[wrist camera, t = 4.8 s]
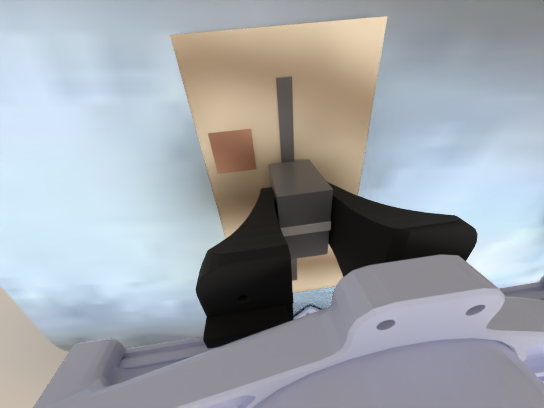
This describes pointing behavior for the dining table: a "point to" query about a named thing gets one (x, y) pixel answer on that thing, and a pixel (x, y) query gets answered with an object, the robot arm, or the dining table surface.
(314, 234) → the fader knob
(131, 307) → the dining table surface
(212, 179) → the fader board
